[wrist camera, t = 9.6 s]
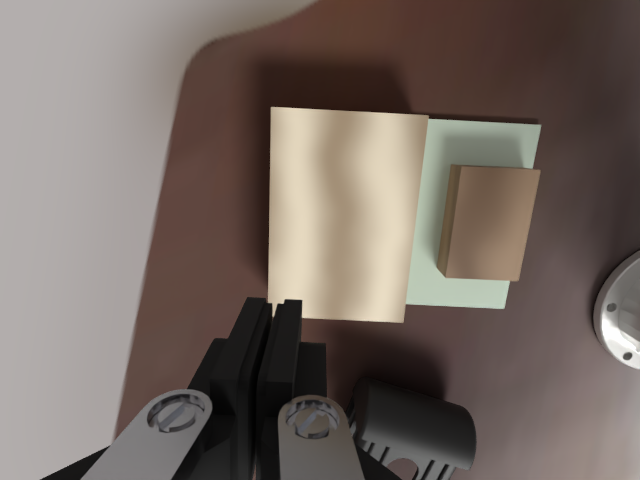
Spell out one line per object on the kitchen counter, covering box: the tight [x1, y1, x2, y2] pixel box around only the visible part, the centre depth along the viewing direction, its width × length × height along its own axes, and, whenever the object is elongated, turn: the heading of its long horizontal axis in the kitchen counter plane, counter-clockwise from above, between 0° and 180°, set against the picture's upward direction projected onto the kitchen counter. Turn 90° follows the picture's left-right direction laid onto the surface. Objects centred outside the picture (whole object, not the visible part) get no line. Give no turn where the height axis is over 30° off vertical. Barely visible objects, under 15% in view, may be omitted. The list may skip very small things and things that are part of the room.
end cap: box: [345, 377, 476, 480], centre depth 34 cm, size 10×7×7 cm
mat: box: [406, 119, 541, 309], centre depth 31 cm, size 10×16×1 cm, turn 177°
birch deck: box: [268, 107, 429, 323], centre depth 30 cm, size 11×16×4 cm
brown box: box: [437, 164, 541, 281], centre depth 30 cm, size 6×9×2 cm, turn 177°
